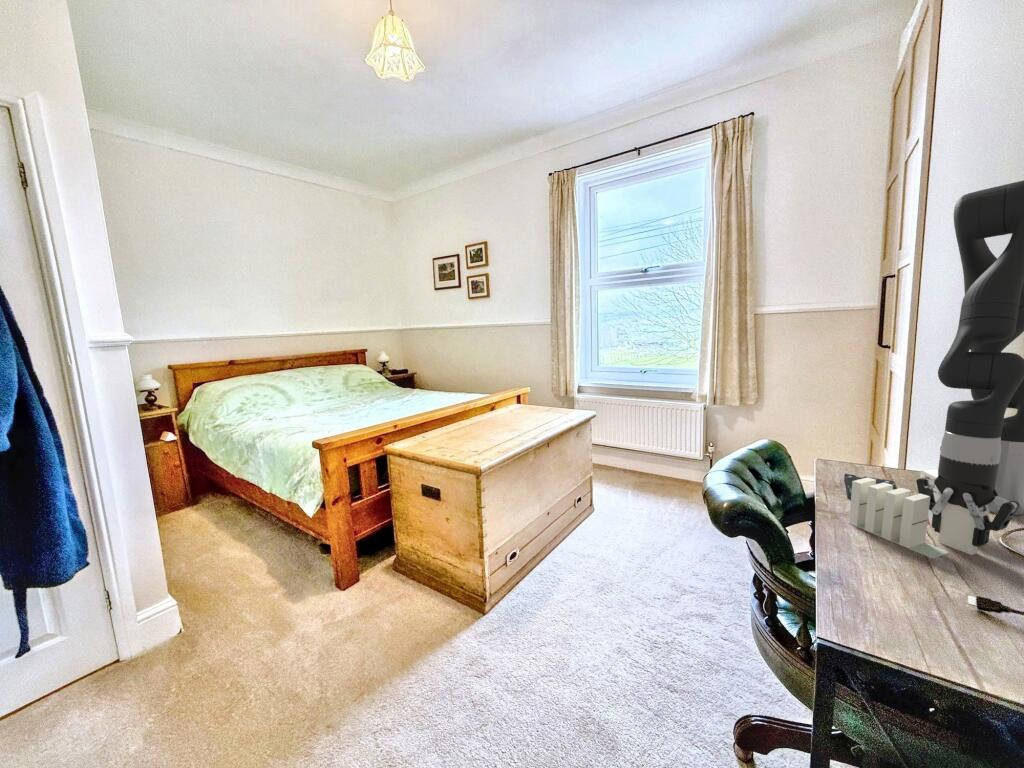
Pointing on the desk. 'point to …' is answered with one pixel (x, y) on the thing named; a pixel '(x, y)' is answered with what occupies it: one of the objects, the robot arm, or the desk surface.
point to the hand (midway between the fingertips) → (957, 537)
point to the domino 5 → (957, 528)
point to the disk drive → (850, 478)
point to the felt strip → (922, 548)
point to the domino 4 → (914, 520)
